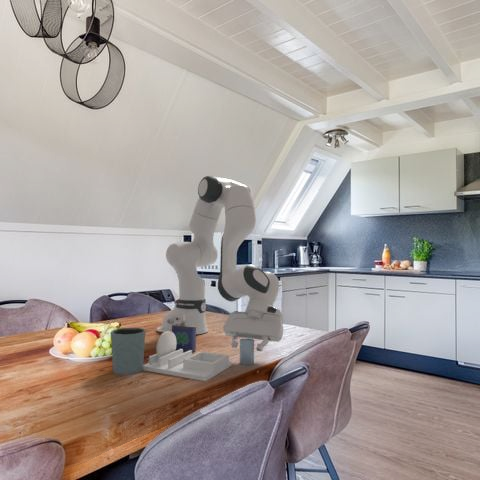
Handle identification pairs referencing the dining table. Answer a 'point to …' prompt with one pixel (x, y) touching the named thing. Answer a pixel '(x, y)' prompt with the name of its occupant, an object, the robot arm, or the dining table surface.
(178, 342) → the blue printed box
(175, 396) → the dining table surface
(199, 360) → the rack
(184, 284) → the robot arm
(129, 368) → the green cup
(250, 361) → the grey upright block
